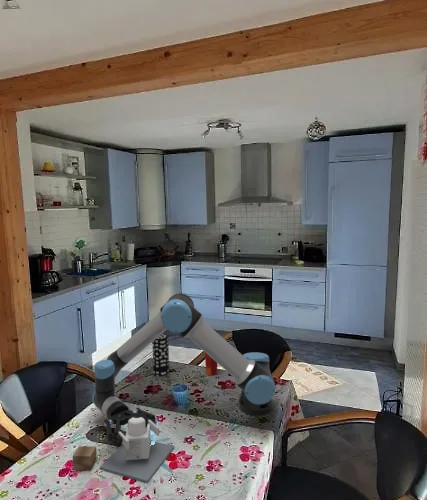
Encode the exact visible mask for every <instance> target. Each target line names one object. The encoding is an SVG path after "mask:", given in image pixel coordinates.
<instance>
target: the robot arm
mask: <svg viewBox="0 0 427 500" xmlns="http://www.w3.org/2000/svg"><path fill="white" fill-rule="evenodd" d="M166 331H168V332H171V333H175V334H177V335H178V336H180V338H182V339H187V338H188V339H190V341H192V342H193V343H194V344H195V345H196V346H197V347H198V348H199V349H201V350H202V351H203V352H204V354H205V353H207V354H208V355H209V356H210V357H211V358H212V359H214V360H215V361H216V362H217V365H219V366H220V367H221V368H222V369H224V370H225V371H226V372H227V373H229V374H230V375H231V376H232V377H233V380H234V384H235V385H236V386H237V387H238V388H239V389H241V390H240V393H239V396H238V399H237V406H238V408H239V410H240V411H242V412H243V413H245V414H249V415H253V416H254V415H255V416H261V415H266V414H268V413H270V412H271V411H273V409H274V400H273V397H274V396H275V393H276V384H275V381H274V378H273V375H272V373H271V369H270V356H269V355H268V354H267V353H264V352H257V351H255V352H253V351H251V352H247V353H244V354H242V353H241V352H239V351H238V350H237V349H236V348H235V347H234V346H232V345H231V344H230V343H229V342H228V341H227V340H226V339H225V338H224V337H222V336H221V335H220V334H219V333H217V331H216V330H214V329H213V328H212V327H211V326H210V325H209V324H208V323H206V321H204V320H203V314H202V313H201V312H200V311H199V310H198V309H197V308H195V303H194V301H193V299H192V298H191V296H189V295H187V294H185V293H175V294H173V295H171V296H170V297H169V298H168V300H167V301H166V303H164V304H163V305H162V306H161V307H160V308H159V312H158V313H157V314H156V315H154V316H153V318H151V319H149V321H148V322H146V324H144V325H143V326H142V327H141V328H139V330H138V331H137V332H136V333H134V334H133V335H131V336H130V338H129V339H127V340H126V341H125V342H124V343H123V344H121V346H120V347H118V348H117V349H116V350H115V351H113V352H112V353H110V354H109V355H108V356H107V358H106V359H102V360H99V361H97V362H96V363H95V365H94V371H93V372H94V373H93V375H94V387H95V389H94V391H93V394H92V396H91V400H92V403H93V404H94V406H95V407H96V408H97V409H98V410H99V411H100V412H101V413H102V414H103V415H104V417H106V418H107V419H104V420H103V423H104V428H105V430H106V435H107V440H108V442H112V441H114V443H117V444H121V445H122V444H123V445H124V446H125V448H126V449H129V440H128V439H127V438H126V437H125V436H126V435H125V434H124V433H122V431H121V429H122V426H125V425H128V417H129V416H130V415H132V414H134V413H144V414H146V415H147V424H150V432H152V433H153V434H155V435H156V436H157V437H158V436H160V427H159V426H158V425H157V421H156V415H155V414H153V413H150V412H148V411H145V410H143V409H141V408H140V407H136V409H135V410H131V409H130V408H129V407H128V405H127V404H125V402H123V401H122V399H120V398H119V397H118V396H116V382H115V380H116V377H117V375H118V374H119V372H120V371H121V370H122V369H123V368H124V367H126V365H128V363H130V362H131V361H132V360H133V359H134V358H136V357H137V356H138V355H139V354H140V353H141V352H143V351H144V350H145V349H146V348H147V347H148V346H149V345H151V344H152V342H153V341H154V340H155V339H156V338H157V337H159V336H160V335H161V334H164V332H166ZM112 425H115V426H114V430H113V432H112Z"/></svg>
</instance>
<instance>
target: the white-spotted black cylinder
mask: <svg viewBox="0 0 427 500" xmlns="http://www.w3.org/2000/svg"><path fill="white" fill-rule="evenodd" d="M151 344H152V369H153V370H152V374H153V376H155V377H161V378H162V377H166V376H168V375H169V374H170V357H169V356H170V354H169V351H170V350H169V349H170V348H169V347H170V346H169V335H168V334H167V333H166V334H164V333H162V334H161V335H160V336H159V337H157V338H156V339H155V340H154V341H153V342H152V343H151Z"/></svg>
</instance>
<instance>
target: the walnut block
mask: <svg viewBox="0 0 427 500" xmlns="http://www.w3.org/2000/svg"><path fill="white" fill-rule="evenodd" d="M97 455H98V454H97V446H88V445H87V446H85V445H82V446H81V445H80V446H78V447H77V448H76V450H75V452H74V453H73V455H72V470H73V471H92V469H93V468H94V466H95V464H96V462H97V460H98V457H97Z"/></svg>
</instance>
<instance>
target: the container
mask: <svg viewBox="0 0 427 500" xmlns="http://www.w3.org/2000/svg"><path fill="white" fill-rule="evenodd" d="M124 436H125V437H126V438H127V439H128V440H129V449H126V448H125V459H126V460H133V459H148V458H149V453H150V445H151V441H152V440H151V439H152V438H151V430H150V424H147V415H146V414H144V413H134V414H132V415H130V416H129V417H128V423H127V428H126V432H125V435H124Z"/></svg>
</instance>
